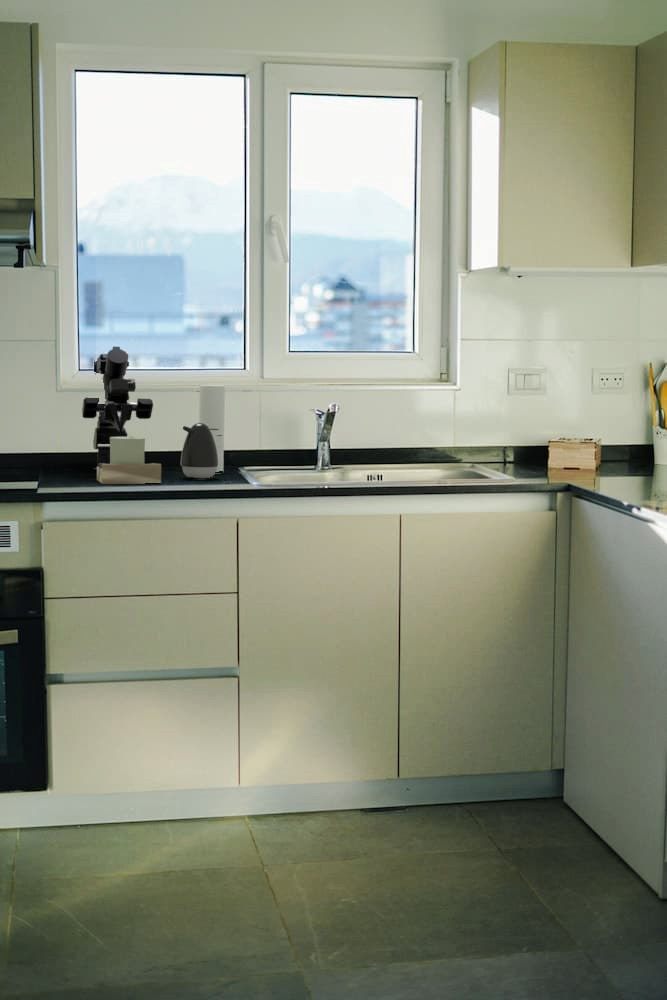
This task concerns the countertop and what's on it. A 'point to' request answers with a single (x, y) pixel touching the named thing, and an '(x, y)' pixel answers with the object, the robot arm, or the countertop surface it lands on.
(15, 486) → the countertop surface
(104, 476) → the frame
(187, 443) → the pump dispenser
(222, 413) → the cylindrical container
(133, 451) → the can
